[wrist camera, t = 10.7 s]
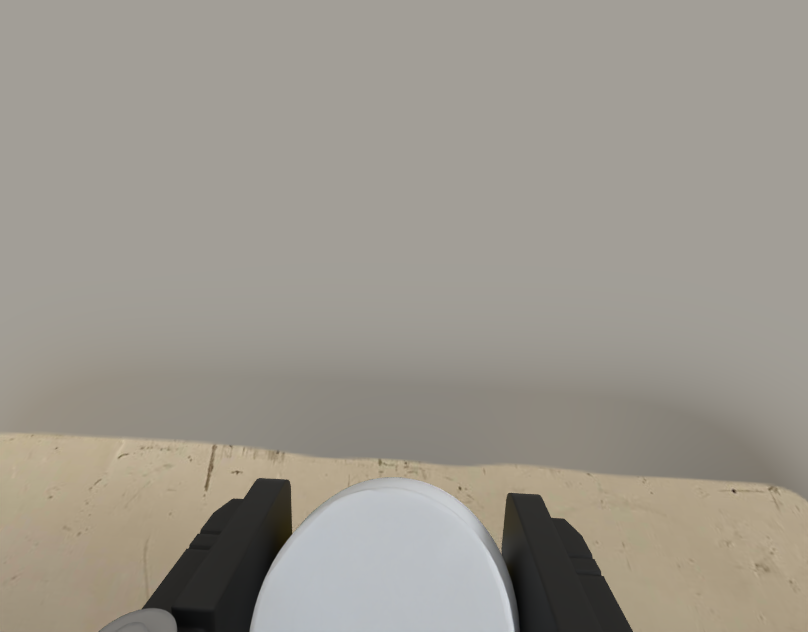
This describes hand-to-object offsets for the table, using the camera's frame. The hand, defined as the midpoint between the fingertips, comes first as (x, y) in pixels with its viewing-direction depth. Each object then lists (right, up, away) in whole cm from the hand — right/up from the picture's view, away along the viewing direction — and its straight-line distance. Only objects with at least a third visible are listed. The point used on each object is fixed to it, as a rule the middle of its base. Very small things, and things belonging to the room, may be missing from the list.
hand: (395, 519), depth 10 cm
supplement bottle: (0, -5, +4) cm, 7 cm away
